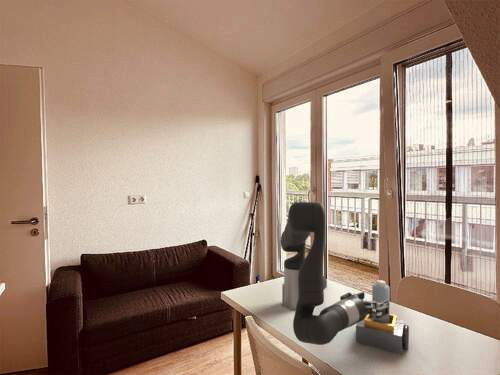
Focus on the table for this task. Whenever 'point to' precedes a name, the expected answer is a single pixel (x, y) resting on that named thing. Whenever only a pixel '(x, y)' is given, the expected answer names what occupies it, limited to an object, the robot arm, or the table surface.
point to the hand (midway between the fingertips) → (375, 298)
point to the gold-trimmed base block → (383, 334)
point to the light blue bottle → (381, 299)
